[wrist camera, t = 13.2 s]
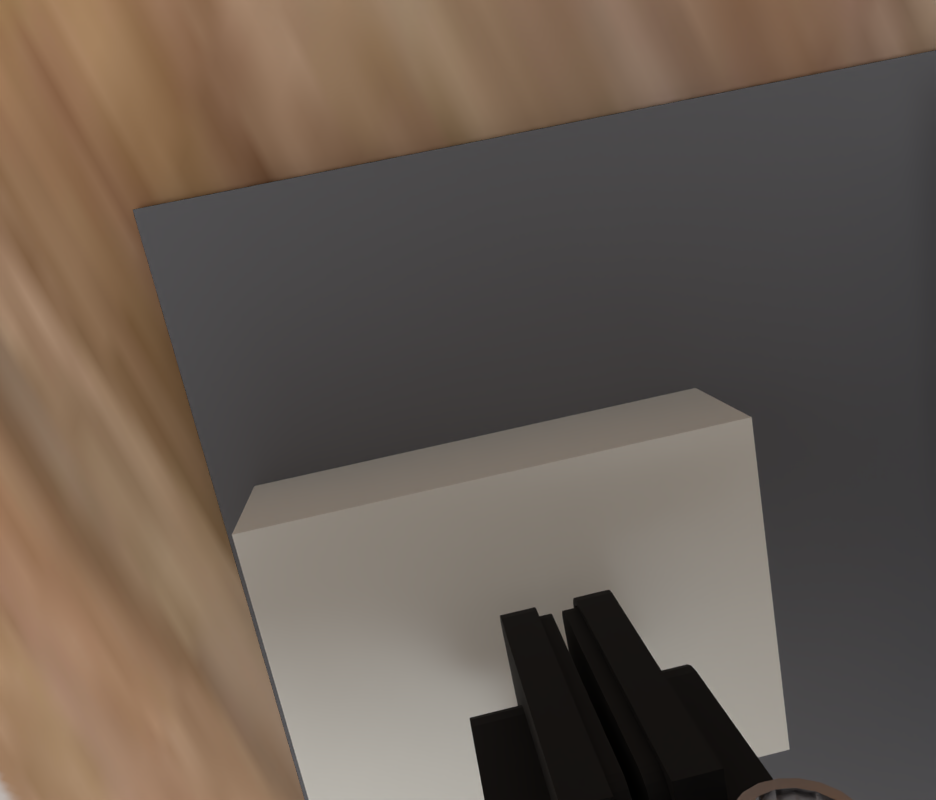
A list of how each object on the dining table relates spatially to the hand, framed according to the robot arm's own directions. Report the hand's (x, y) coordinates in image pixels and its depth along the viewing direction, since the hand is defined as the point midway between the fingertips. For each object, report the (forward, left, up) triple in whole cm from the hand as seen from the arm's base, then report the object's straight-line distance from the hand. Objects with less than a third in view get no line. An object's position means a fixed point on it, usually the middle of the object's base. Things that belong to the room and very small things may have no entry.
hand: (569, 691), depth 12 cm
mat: (-2, 0, -4) cm, 4 cm away
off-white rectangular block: (0, 0, -1) cm, 1 cm away
